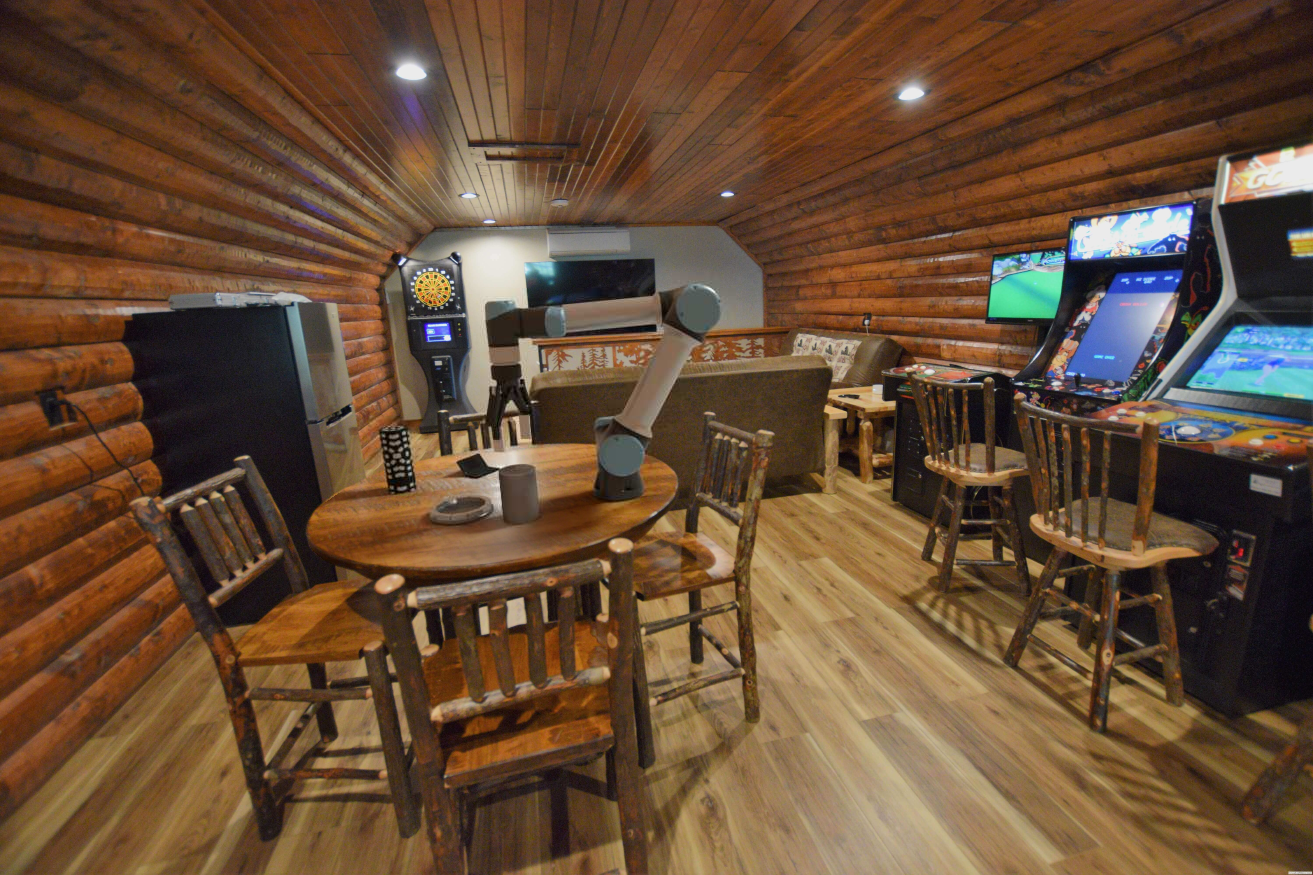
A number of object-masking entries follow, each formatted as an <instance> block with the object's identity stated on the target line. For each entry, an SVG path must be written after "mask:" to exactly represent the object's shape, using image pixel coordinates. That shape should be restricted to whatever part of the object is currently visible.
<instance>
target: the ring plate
mask: <svg viewBox="0 0 1313 875" xmlns="http://www.w3.org/2000/svg"><path fill="white" fill-rule="evenodd" d="M494 510H495V509H494V504H493V503H492V498H490V497H487V496H485V495H478V494H477V495H476V494H469V495H468V494H467V495H460V496H454V497H450V498H447V499H443V500H440V501H438V502H437V503H434V504H433V505H431V507H430V510H429V514H428V518H429V521H430V522H431V523H432V524H435V525H439V526H461V525H465V524H466V525H467V524H471V523H474V522H478V521H480V520H484V519H485V518H487V517H489V516H490V515H492V513H494Z"/></svg>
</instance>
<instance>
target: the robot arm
mask: <svg viewBox="0 0 1313 875" xmlns="http://www.w3.org/2000/svg"><path fill="white" fill-rule="evenodd" d="M722 306H723V305H722V301H721V298H720V296H719V295H718V293H717V292H716V291H715V290H714V289H713V288H711V287H709V286H708V285H705V284H703V283H692V284H689V285H688V284H687V285H682V286H680V287H676V288H672V289H668V290H663V291H656V292H655V293H654V294H653V295H652V296H651V295H650V296H639V297H631V298H630V297H629V298H628V297H627V298H620V299H611V300H610V299H609V300H599V301H598V300H597V301H589V302H578V303H576V302H575V303H568V304H557V305H542V306H538V307H527V308H526V307H524V308H522V307H517V305H516V302H515V301H514V300H513V299H512V300H494V301H493V300H491V301H490V300H489V301H487V302H486V303H485V305H484V316H485V319H484V322H485V328H486V329H485V330H486V337H487V345H488V346H487V347H488V354H489V362H490V363H491V366H490V376H491V377H490V378H491V380H492V381H495V382H496V385H493V386H492V385H489V387H488V393H489V394H488V402H487V409H486V415H485V416H486V417H485V422H484V425H485V427H488V428H489V427H490V428H491V434H492V442H493V443H492V445H493V451H494V453H505V452H506V444H505V443H506V442H505V435H504V434H505V433H504V426H502V422H503V419H504V416H505V415H504V414H505V412H506V408H507V405H508V404H510V402H511V401H512V403H513V404H514V406H515V407H516V409H517V410H518V412H519V413H520V414H519V415H518V422H519V433H520V439H521V440H531V439H532V433H531V432H532V431H531V421H530V415H533V413H534V406H533V403H532V401H531V398H530V396H529V393H528V392H529V391H528V390H527V389H528V388H527V386H526V381H525V378H522V377H523V372H522V365H521V363H520V361H521V351H520V340H521V339H523V340H524V339H545V338H547V339H549V338H550V339H554V338H561V337H562V338H563V337H564V336H566V334H567V333H575V332H585V331H586V332H587V331H596V330H605V329H616V328H627V327H637V326H647V325H656V326H657V327H659V328H662V329H663V334H662V336H661V338H660V340H659V341H658V344H657V345H656V347H655V349H654V351H653V353H652V355H651V356H650V359H649V361H648V362H647V364H646V366H645V368H644V370H643V371H642V373H641V376H640V378H639V380H638V382H637V384H636V385H635V387H634V389H633V391H632V393H631V394H630V396H629V399H628V401H627V402H626V404H625V406H624V409H623V410H622V412H621V413H619V414H616V415H613V416H605V417H604V416H603V417H598V418H597V419H595V421H594V432H595V433H594V434H595V446H596V449H595V450H596V462H597V472H596V475H595V478H594V483H593V486H592V487H593V496H594V497H595V498H596V499H599V500H604V501H611V502H613V501H614V502H615V501H618V502H619V501H626V500H631V499H635V498H638V497H640V496H642V495H643V494H644V493H645V482H644V480H643V478H642V476H641V473H640V470H639V469H640V468H641V467H642V465H643V464H644V460H645V456H646V455H645V454H646V453H645V451H646V449H647V448H648V445H649V443H651V441H652V438H653V432H652V429H651V427H652V426H653V424H654V422H655V420H656V418H657V416H658V415H659V413H660V411H661V409H662V407H663V406H664V403H665V402H666V400H667V398H668V395H669V394H670V391H671V390H672V388H673V386H674V385H675V383H676V381H677V379H678V377H679V375H680V373H681V372H682V370H683V367H684V365H685V363H686V362H687V360H688V358H689V356H690V355H691V352H692V350H693V349H694V348H696V347H699V346H701V345H702V344H703V342H705V341H704V340H705V338H706V337H707V335H708V334H709V331H711V330H712V329H713V328H714V327H716V325H717V324H718V323H719V321H720V319H721V317H722V314H723V307H722Z"/></svg>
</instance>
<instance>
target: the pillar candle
mask: <svg viewBox="0 0 1313 875" xmlns="http://www.w3.org/2000/svg"><path fill="white" fill-rule="evenodd" d="M536 468H537V467H536V466H534V465H532V464H527V463H519V464H510V465H506V466H504V467H501V468H500V470H499V471H497V473H498V479H499V490H500V502H501V510H502V520H503V521H504V523H506V524H509V525H524V524H529V523H532V522H534V521H535V520H537V519H538V518H539V517H540V503H539V493H538V483H537V472H536V471H537V470H536Z"/></svg>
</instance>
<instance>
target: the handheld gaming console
mask: <svg viewBox="0 0 1313 875" xmlns="http://www.w3.org/2000/svg"><path fill="white" fill-rule="evenodd" d="M455 464H457V466H458V468H459V469H460V471H461V472H462V474H463V475H464V478H467V477H469V479H474V478H477V479H476V480H479V479H481V477H482V478H483V476H484V477H487V476H489V475H491V474H494V473H496V472H498V471H499V470H500V469H501V468H500V467H496V466H489V465H488V463H486V461H485V459H484V458H483V456H482V455H481V453H479V452H478V453H476V454H473V455H469V456H468V457H464V458H461V459H459V460H457V461H456V462H455ZM488 474H489V475H488ZM486 475H487V476H486ZM478 478H479V479H478Z"/></svg>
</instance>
